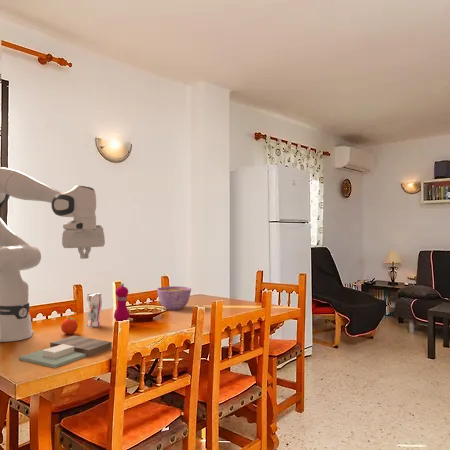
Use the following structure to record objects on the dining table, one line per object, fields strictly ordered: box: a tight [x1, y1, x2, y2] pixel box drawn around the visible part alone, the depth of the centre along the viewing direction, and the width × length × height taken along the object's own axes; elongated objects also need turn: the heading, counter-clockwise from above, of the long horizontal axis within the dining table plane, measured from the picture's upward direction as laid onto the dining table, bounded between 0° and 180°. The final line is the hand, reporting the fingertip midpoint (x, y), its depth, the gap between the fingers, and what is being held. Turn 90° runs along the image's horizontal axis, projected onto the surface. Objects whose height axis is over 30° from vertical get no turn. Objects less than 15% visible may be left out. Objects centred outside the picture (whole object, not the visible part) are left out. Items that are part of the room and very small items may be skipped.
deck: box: [49, 335, 113, 358], centre depth 161 cm, size 20×12×2 cm, turn 63°
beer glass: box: [86, 292, 103, 328], centre depth 198 cm, size 7×7×15 cm
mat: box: [18, 346, 87, 369], centre depth 150 cm, size 18×14×1 cm
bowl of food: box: [156, 285, 192, 311], centre depth 242 cm, size 20×20×12 cm
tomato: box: [60, 317, 79, 335], centre depth 183 cm, size 8×7×7 cm
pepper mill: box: [113, 282, 130, 323], centre depth 201 cm, size 7×7×20 cm
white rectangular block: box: [42, 344, 74, 358], centre depth 151 cm, size 6×9×2 cm, turn 153°
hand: (84, 258), depth 172 cm, fingers closed
